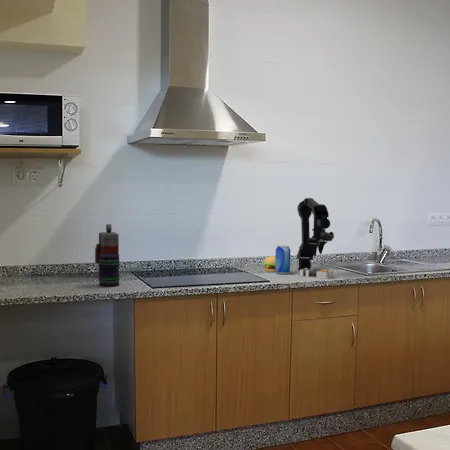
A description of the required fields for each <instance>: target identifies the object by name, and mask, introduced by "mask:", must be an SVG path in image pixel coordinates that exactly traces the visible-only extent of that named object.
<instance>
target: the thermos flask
mask: <svg viewBox="0 0 450 450" xmlns="http://www.w3.org/2000/svg"><path fill="white" fill-rule="evenodd" d="M119 243H120V241H119V233H118V232H114V231H112V224H111V223H110V224H109V223H107V224H106V225H105V231H103V232H98V243H96V245H95V248H94V263H95V264H99V258H100V257H99V255H101V254H118V255H119V256H120V254H119V249H120V248H119ZM99 274H100V267H99V266H98V275H99Z"/></svg>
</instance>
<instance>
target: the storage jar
mask: <svg viewBox="0 0 450 450" xmlns="http://www.w3.org/2000/svg"><path fill="white" fill-rule="evenodd" d="M99 257H100V258H99V263H98V268H99V267H100V274H99V273H98V281H99V282H98V283H99V285H98V286H99V287H102V288H116V287H119V286H120V272H119V271H120V269H119V268H120V254H119V255H118V254H101V255H99Z"/></svg>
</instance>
